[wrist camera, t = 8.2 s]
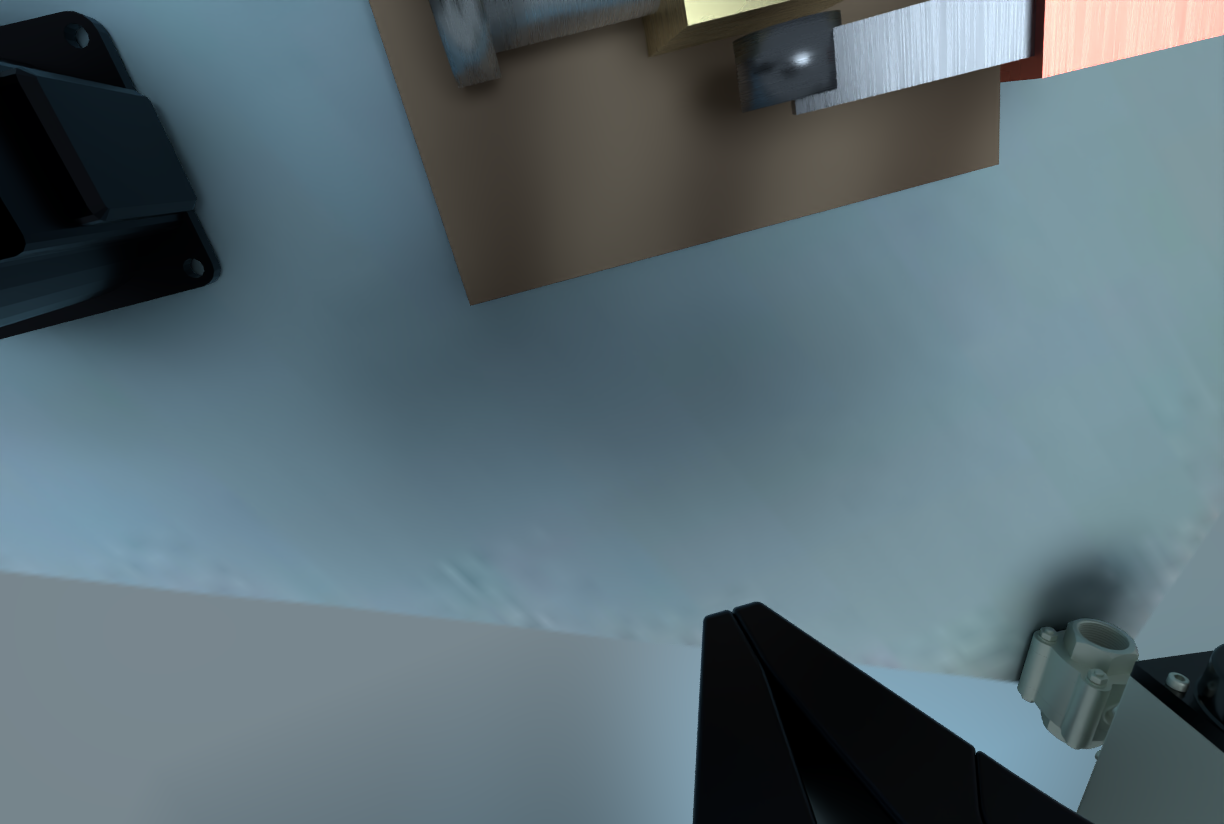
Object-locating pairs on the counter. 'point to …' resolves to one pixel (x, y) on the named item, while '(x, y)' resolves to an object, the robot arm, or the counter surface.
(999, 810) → the robot arm
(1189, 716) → the pneumatic valve
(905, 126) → the mounting board
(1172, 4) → the lever
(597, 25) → the valve body
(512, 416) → the counter surface
